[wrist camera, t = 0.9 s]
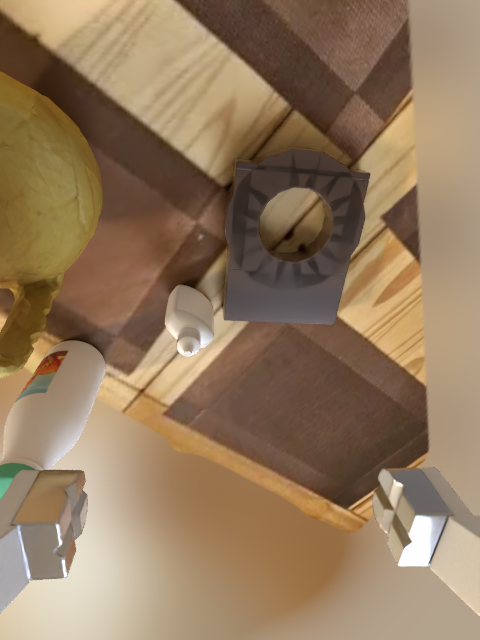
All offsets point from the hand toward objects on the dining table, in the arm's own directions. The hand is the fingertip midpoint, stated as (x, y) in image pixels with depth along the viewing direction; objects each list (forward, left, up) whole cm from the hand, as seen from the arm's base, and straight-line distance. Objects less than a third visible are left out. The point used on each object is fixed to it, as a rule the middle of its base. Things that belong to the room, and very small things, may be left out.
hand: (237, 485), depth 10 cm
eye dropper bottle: (+12, -2, -36) cm, 38 cm away
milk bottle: (+22, -17, -36) cm, 46 cm away
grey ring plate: (+4, +9, -36) cm, 37 cm away
